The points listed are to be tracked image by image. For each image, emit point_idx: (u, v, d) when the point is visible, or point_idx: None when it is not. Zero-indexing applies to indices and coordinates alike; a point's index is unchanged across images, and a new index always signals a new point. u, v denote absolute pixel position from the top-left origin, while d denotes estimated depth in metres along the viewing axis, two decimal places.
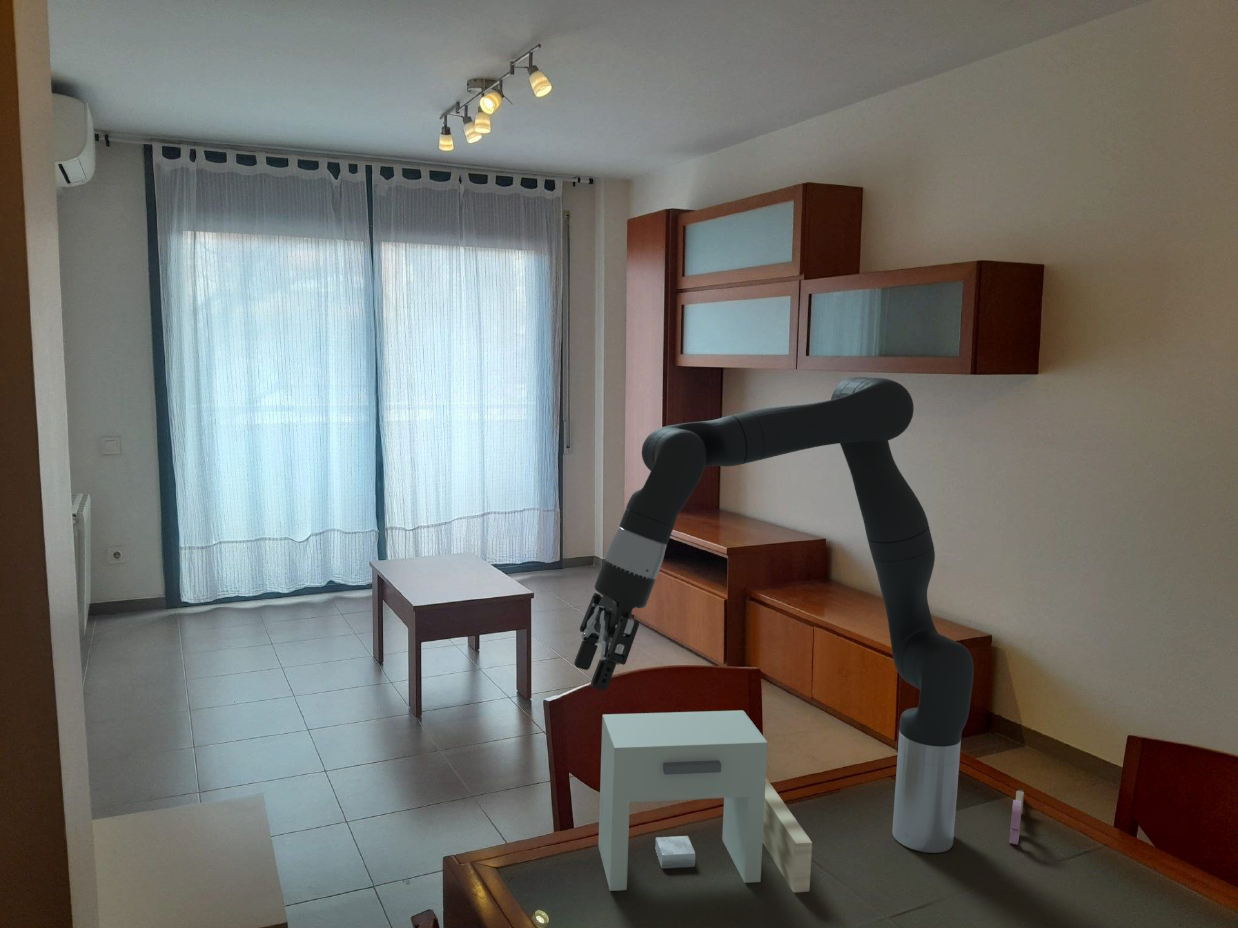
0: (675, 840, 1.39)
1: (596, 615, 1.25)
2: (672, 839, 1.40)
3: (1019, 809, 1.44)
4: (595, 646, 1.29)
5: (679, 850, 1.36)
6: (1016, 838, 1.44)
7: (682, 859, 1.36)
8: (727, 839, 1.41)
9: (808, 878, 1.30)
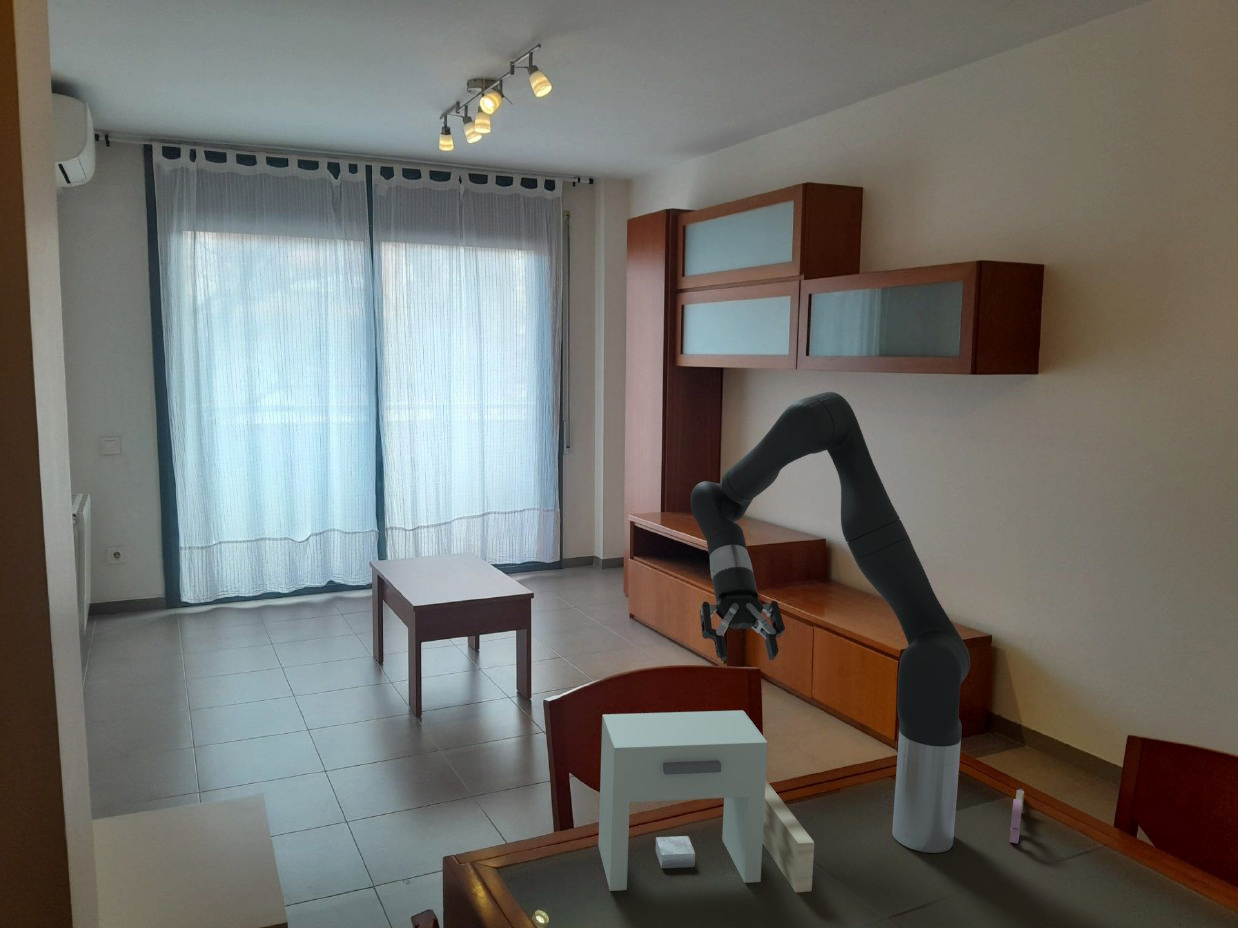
0: (675, 840, 1.39)
1: None
2: (672, 839, 1.40)
3: (1019, 808, 1.44)
4: (768, 637, 1.58)
5: (679, 850, 1.36)
6: (1016, 837, 1.44)
7: (682, 859, 1.36)
8: (727, 839, 1.41)
9: (810, 878, 1.30)
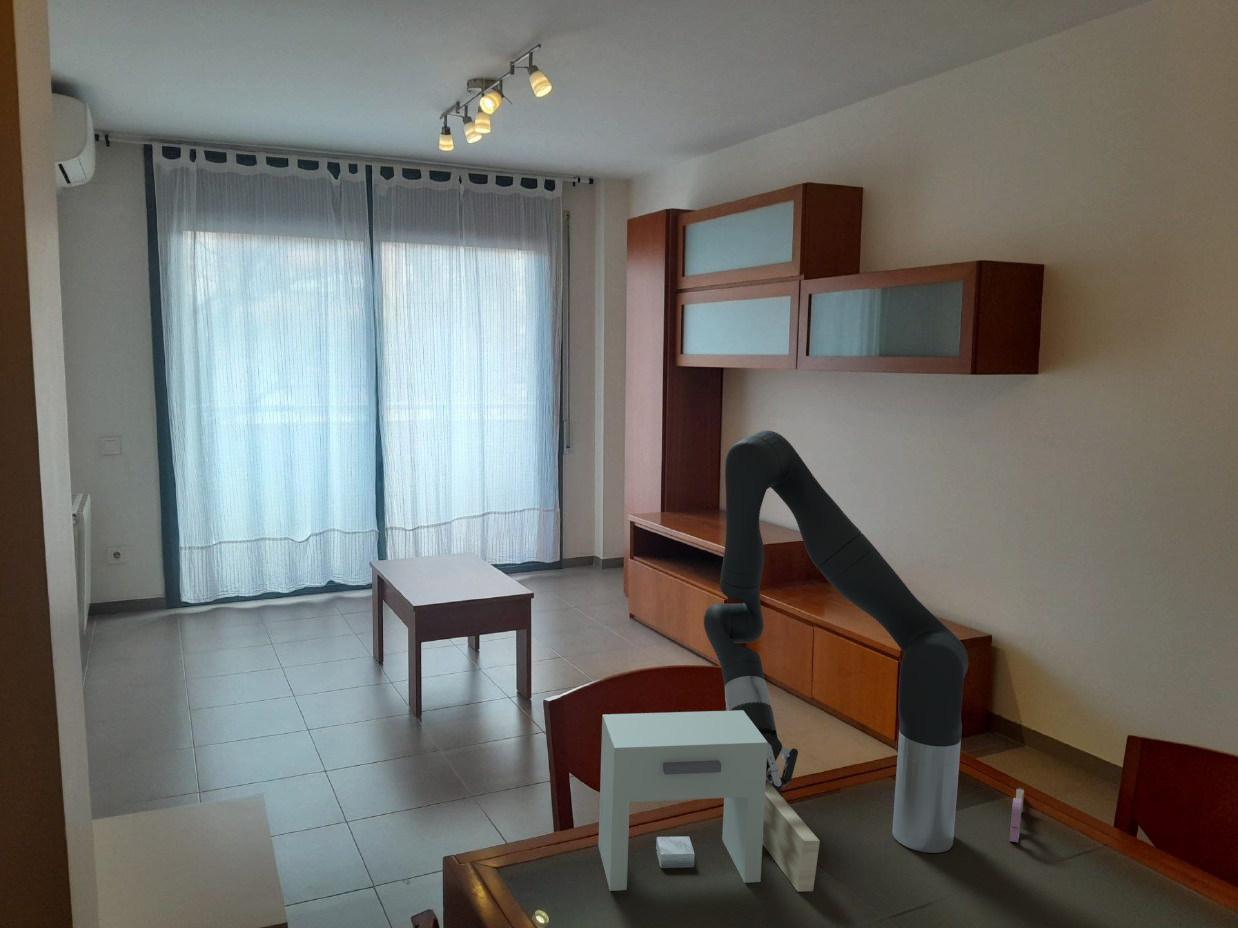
0: (675, 840, 1.39)
1: None
2: (672, 839, 1.40)
3: (1019, 807, 1.45)
4: None
5: (678, 850, 1.36)
6: (1016, 836, 1.45)
7: (681, 859, 1.36)
8: (727, 839, 1.41)
9: (813, 876, 1.30)
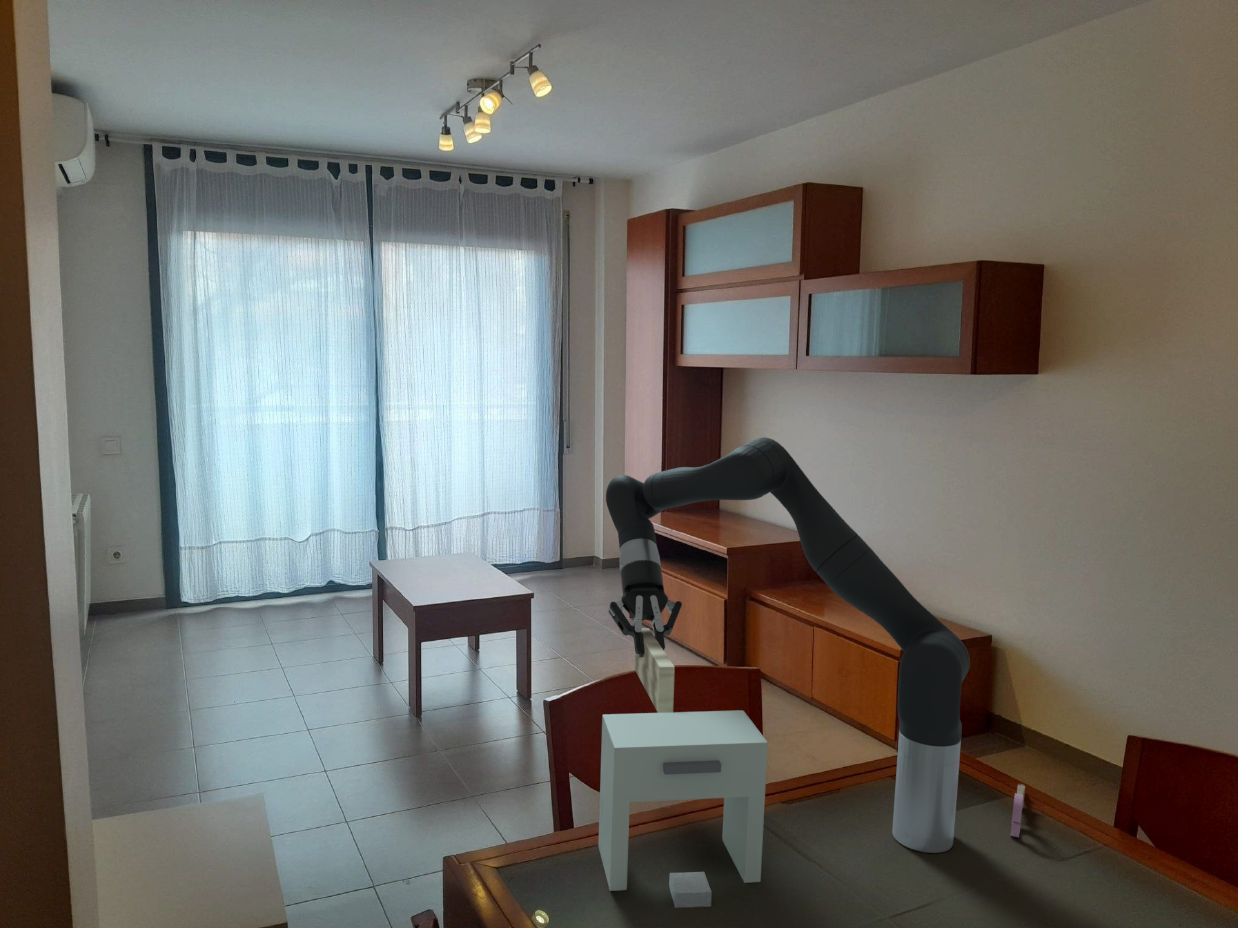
0: (690, 876, 1.30)
1: None
2: (686, 875, 1.30)
3: (1021, 802, 1.46)
4: (656, 634, 1.60)
5: (694, 888, 1.27)
6: (1017, 831, 1.46)
7: (698, 898, 1.26)
8: (727, 839, 1.41)
9: (671, 699, 1.46)
